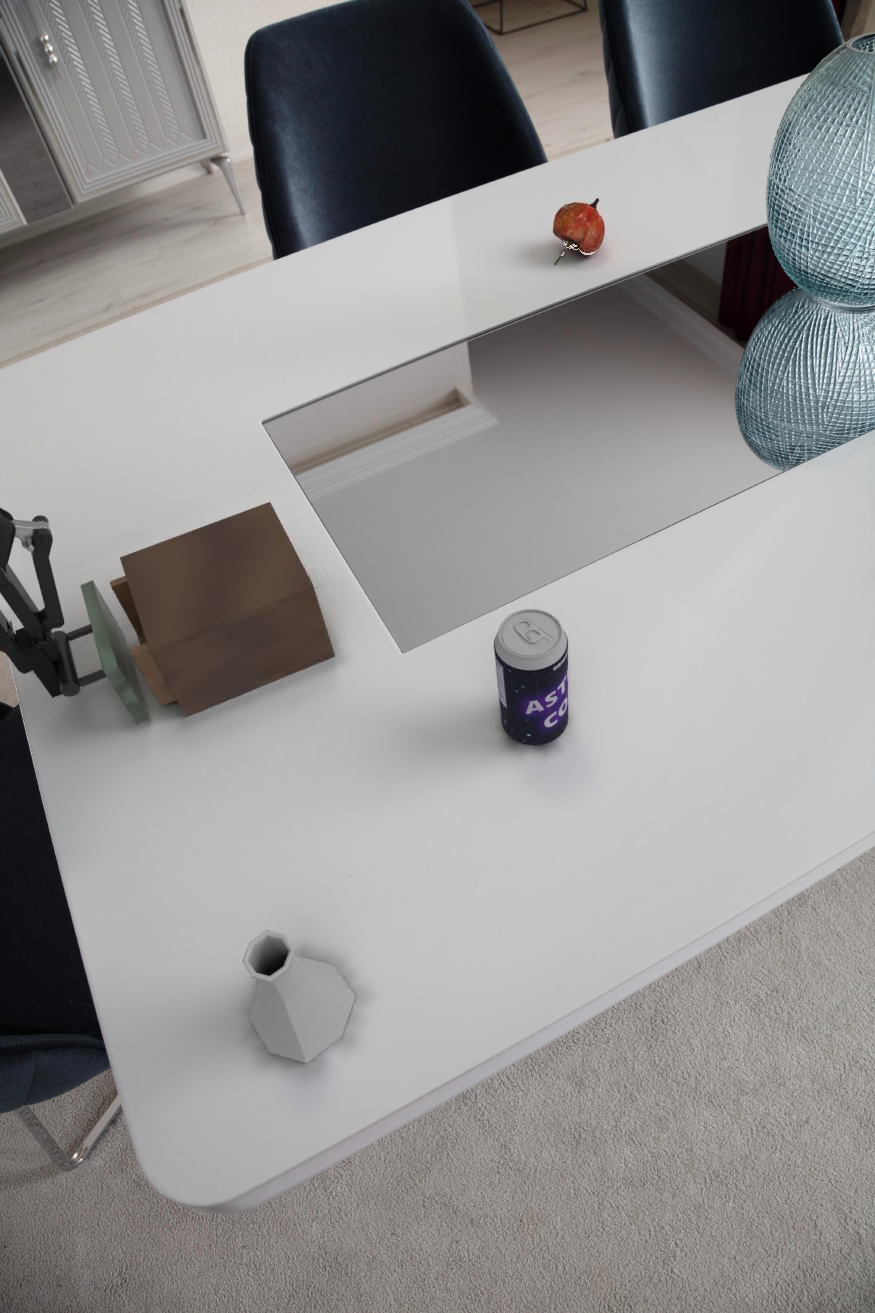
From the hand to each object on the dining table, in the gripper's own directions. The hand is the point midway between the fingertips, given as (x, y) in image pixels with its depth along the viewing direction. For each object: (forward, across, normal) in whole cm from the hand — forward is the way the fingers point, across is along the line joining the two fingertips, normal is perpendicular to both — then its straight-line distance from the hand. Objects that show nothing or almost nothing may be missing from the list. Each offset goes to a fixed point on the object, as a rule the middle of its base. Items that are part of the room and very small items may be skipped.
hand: (58, 684), depth 83 cm
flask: (+4, -10, +36) cm, 38 cm away
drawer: (+3, -10, 0) cm, 10 cm away
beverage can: (+4, -36, +22) cm, 43 cm away
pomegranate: (+4, -79, -45) cm, 91 cm away
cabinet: (+4, -17, 0) cm, 17 cm away
